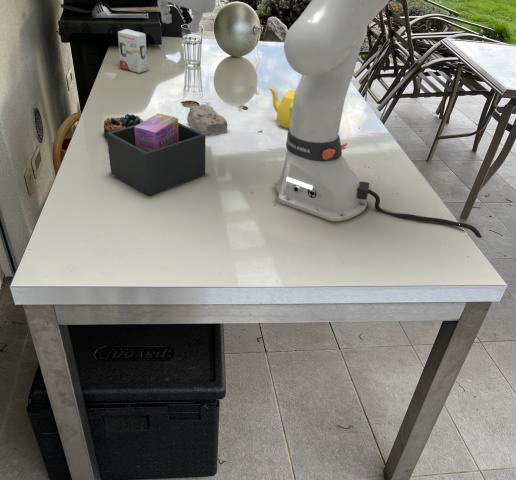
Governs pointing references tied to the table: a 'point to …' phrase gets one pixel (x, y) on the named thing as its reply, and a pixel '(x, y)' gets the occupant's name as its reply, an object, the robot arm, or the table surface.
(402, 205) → the table surface
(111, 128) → the pastry
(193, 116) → the stone
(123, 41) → the ink box
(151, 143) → the box
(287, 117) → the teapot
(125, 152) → the bin
